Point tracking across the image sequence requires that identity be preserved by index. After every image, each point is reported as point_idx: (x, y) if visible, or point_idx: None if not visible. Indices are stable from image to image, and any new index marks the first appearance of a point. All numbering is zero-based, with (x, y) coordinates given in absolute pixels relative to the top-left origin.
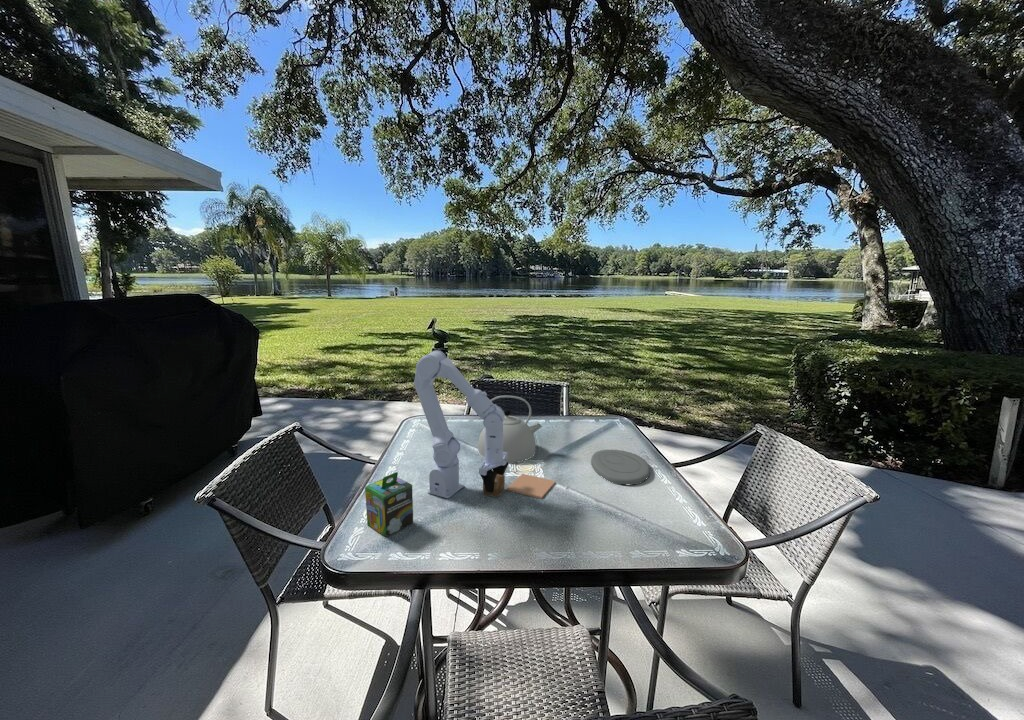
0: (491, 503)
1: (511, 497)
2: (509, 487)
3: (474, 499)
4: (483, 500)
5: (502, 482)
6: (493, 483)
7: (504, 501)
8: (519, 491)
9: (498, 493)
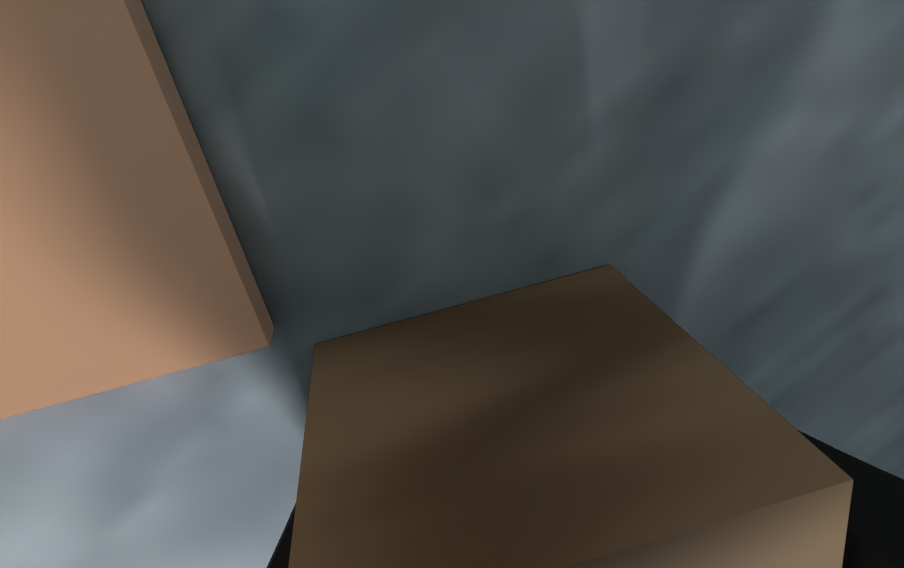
0: (830, 188)
1: (437, 40)
2: (189, 332)
3: (823, 441)
4: (797, 343)
5: (428, 461)
6: (883, 500)
7: (662, 46)
8: (123, 14)
9: (576, 299)
